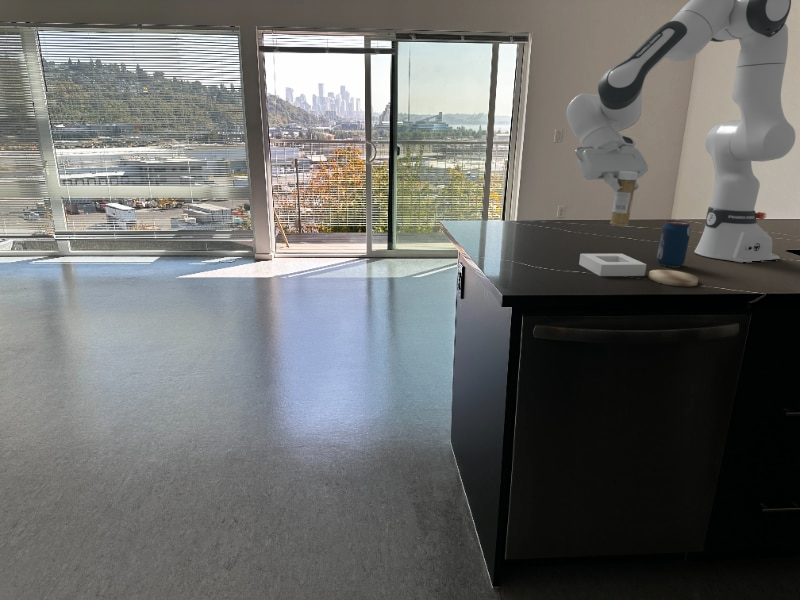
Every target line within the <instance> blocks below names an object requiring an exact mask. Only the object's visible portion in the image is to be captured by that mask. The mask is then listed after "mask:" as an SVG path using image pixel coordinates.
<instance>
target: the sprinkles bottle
mask: <svg viewBox="0 0 800 600" xmlns="http://www.w3.org/2000/svg"><path fill="white" fill-rule="evenodd" d="M637 175H638V173H637V172H634V171H619V172H618V176H617V179H616V180H617V181H618V182H621V184H622V186H623V189H621V190H620V191H614V192H615V193H614V197H613V198H614V199H613V204H612V210H611V218H610V222H609V224H610V225H613V226H618V227H627V226H629V224H630V222H629V221H630V217H631V216H630V215H631V212H632V206H633V198H634V193H635V191H634V188H635V182H637V180H638V178H637Z"/></svg>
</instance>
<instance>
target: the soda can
mask: <svg viewBox="0 0 800 600" xmlns="http://www.w3.org/2000/svg"><path fill="white" fill-rule="evenodd" d="M690 224H691V223H690V222H688V221H682V220H666V221H665V224H663V226H662V228H661V233H660V238H659V243H658V249H657V254H656V262H657V264H658V265H659V264H660V265H659V266H661V265H663V266H662V267H666V266H668V267H667V268H681V267H682V266H683V264H684V263H685V260H686V256H687V252H688V246H689V241H690V235H691V226H690ZM680 266H681V267H680Z"/></svg>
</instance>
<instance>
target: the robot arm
mask: <svg viewBox="0 0 800 600" xmlns="http://www.w3.org/2000/svg"><path fill="white" fill-rule="evenodd" d="M791 6H792V0H689V1H688V2H686V4H685V5H684V6H682V8H681V9H680V10H679V11H678V12H677V13H676V14H675V15H674V16H673V18H671V20H670V21H668V22H666V23H665V24H662V25H661V26H660V27H658V29H656V30H655V31H654V32H653V33H652V34H651V35H650V36H649V37H648V38H647V39H645V41H644V42H643V43H641V45H640V46H638V47H637V48H636V49H635V50H634V51H633V52H632V53H631V54H630V55H629V56H628V57H626V58H625V59H624V60H622V61H620V62H619V63H617V64H616V65H614V66H612V67H610V68H609V69H608V70H607V71H605V72H604V74H602V76H601V78H600V79H599V82H598V84H597V85H598V86H597V92H598V94H591V93H588V92H583V93H580V94H578V95H576V96H575V97H574V98H573V99H571V101H570V102H569V104H568V105H567V108H566V113H565V117H566V121H567V124H568V126H569V128H570V129H571V132H572V133H573V135H574V137H575V138H576V139H577V140H578V141H579V144H580V145H579V146H578V147H577V148H575V151H574V154H575V156H576V157H577V164H578V167H579V170H580V172H581V175H582V176H583V177H584V178H585V179H586V180H590V181H593V180H603V181H604V183H606V184H607V185H609V187H611V189H612V190H613V192H615V191H620V190H621V189H623V186H622V184H621V182H618V181H617V176H618V172H619V171H634V172H637V173H638V175H637V179H640V178H642V177H643V176H644V175H645V174H646V173H647V172H648V171H649V164H648V163H647V161H646V159H645V158H644V156H643V154H642V153H641V151H640V150H639V148H637V147H635V146H636V145H637V144H636V141H635V140H634V139H633V138H632V137H629V136H626V135H623V134H621V133H619V132H621V131H623V130H625V129H628V128H630V127H632V126H633V125H635V124H637V122H638V120H640V117H641V115H642V105H643V104H642V103H643V100H642V98H643V96H642V95H643V88H644V83H645V80H646V78H647V76H648V74H649V73H651V71H652V70H653V69H654V68H656V67H657V66H658V65H659V64H660V63H661V62H662V61H663V60H664V59H665V58H667V59H669V60H671V61H675V62H685V61H690V60H692V59H693V58H694V57H696V56H697V55H698V54H699V53H700V52H701V51H702V50H703V49H704V48H705V47H706V46H707V45H708V44H709V43H710V42H714V43H715V42H716V43H718V42H719V43H723V42H725V41H735V40H738V41H739V45H740V50H739V55H738V57H737V64H736V69H735V76H734V80H733V87H732V93H731V97H732V100H733V102H735V104H737V105H738V107H739V111H740V114H741V120H740V119H738V120H737V119H736V120H728V121H724V122H722V123H719V124H716V125H715V126H713V127H712V128H711V129H710V130H709V132H707V134H706V137H705V141H704V142H705V144H704V145H705V148H706V151H707V152H708V153H709V154H710V157H711V158H712V162H713V168H714V187H713V191H712V197H711V203H710V206H708V209H707V212H706V218H705V226H704V229H703V231H702V232H703V233H702V235H701V238H700V239H699V242H698V244H697V245H696V248H695V250H694V253H695V254H698V255H699V256H702V257H706V258H712V259H717V260H726V261H733V262H736V263H743V262H746V263H753V262H752V261H760V260H772V259H779V260H780V256H779V255H778V254H775V253H772V250H773V239H772V237H771V236H770V235H769V234H768V233H767V232H766V231H765V230H764V229H763V228H761V227H760V225H759V224H758V220H762V221H763V220H765V219H766V218H767V213H766V212H761V211H758V212H756V210H755V208H756V207H755V206H756V202H757V201H758V200H757V199H758V195H759V191H760V187H761V185H760V181H759V179H758V178H757V176H755V174H754V171H753V168H752V162H768V161H775V160H778V159H781V158H784V157H785V156H786V155H788V154H789V153H790V152H791V150H792V149H793V147H794V146H795V143H796V138H797V137H796V131H795V128H794V127H793V125H792V124H791V123H790V122H788V120H787V118H786V116H785V114H784V110H783V106H782V97H781V95H782V85H783V81H784V74H785V68H786V64H787V57H788V49H789V47H788V46H789V28H788V26H787V23H786V21H787V20H788V16H789V14H790V10H791ZM639 187H640V185H639V183H638V182H637V181H636V182H635V188H634V192H635V191H637V189H639ZM757 219H758V220H757Z"/></svg>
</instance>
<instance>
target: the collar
mask: <svg viewBox="0 0 800 600" xmlns="http://www.w3.org/2000/svg"><path fill="white" fill-rule="evenodd" d="M578 265H580V266H581V267H583V268H585V269H587V270H588V271H590V272H592V273H594V274H595V275H597V276H599V277H645V275H646V269H647V263H644V262H642V261H640V260H638V259H635V258H632V257H631V256H629V255H626V254H624V253H580V255H579V263H578Z"/></svg>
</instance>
